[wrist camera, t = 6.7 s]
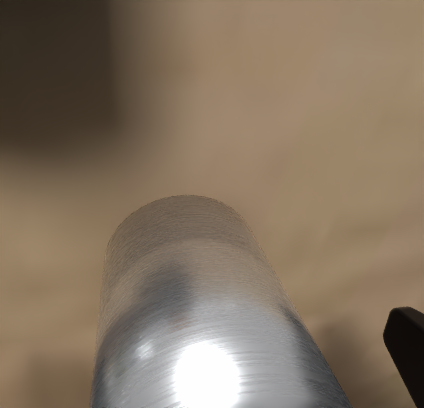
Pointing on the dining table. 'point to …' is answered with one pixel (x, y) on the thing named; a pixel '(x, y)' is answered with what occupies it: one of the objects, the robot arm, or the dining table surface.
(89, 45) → the dining table surface
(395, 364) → the robot arm
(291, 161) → the dining table surface
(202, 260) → the billet
